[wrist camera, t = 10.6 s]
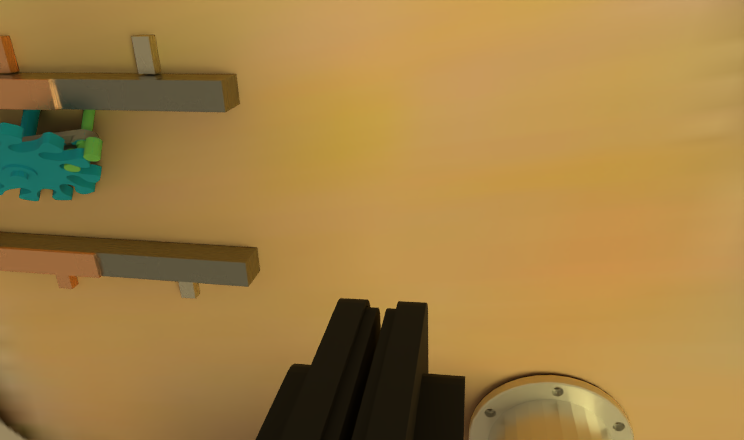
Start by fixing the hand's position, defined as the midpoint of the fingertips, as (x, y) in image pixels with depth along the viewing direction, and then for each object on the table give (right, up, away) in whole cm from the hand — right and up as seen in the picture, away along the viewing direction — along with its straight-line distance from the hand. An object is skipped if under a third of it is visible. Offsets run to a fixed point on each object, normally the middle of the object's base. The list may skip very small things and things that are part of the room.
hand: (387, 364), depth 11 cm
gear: (-23, +8, +31) cm, 40 cm away
